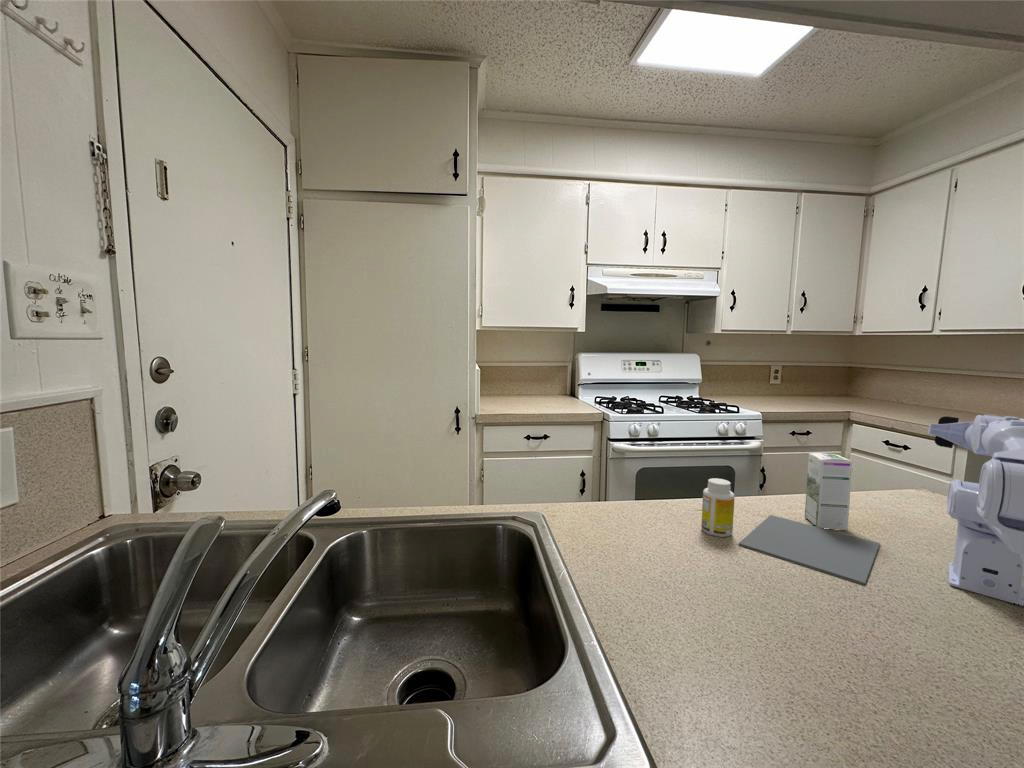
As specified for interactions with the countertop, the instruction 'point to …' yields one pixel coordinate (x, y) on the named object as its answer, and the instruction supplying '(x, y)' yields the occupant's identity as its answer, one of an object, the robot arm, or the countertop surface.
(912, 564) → the countertop surface
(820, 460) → the syrup box
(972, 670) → the countertop surface
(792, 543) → the mat
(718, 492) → the supplement bottle
